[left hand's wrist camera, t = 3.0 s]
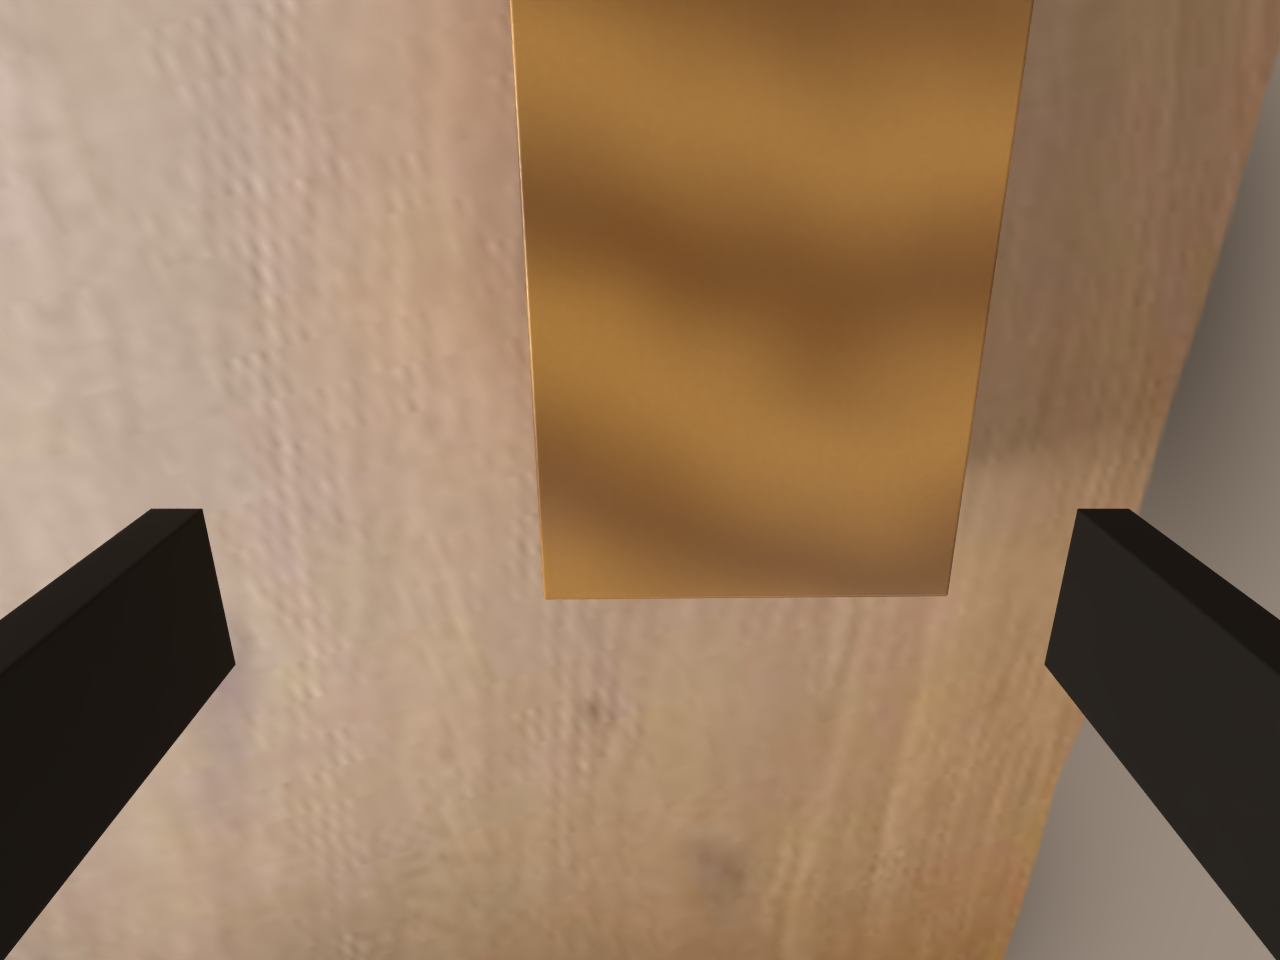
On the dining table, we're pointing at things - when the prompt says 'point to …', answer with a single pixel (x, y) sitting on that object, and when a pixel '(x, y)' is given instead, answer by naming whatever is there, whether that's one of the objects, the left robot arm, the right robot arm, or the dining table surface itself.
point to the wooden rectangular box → (758, 285)
